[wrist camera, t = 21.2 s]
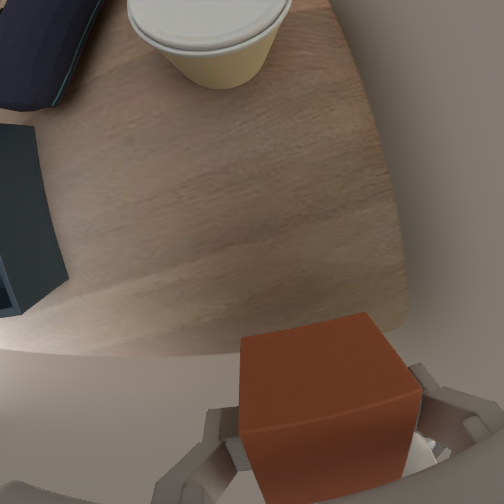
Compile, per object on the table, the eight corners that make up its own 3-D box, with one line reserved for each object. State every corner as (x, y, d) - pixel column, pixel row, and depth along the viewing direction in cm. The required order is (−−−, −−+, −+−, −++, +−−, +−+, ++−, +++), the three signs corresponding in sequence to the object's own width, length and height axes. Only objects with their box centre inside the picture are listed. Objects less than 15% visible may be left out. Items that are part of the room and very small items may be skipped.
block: (366, 400, 12) (401, 479, 7) (262, 422, 12) (268, 510, 7) (365, 310, 11) (424, 388, 6) (240, 336, 11) (237, 433, 6)
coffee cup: (207, -4, 21) (188, -82, 10) (294, 38, 23) (325, -34, 11) (150, 72, 23) (91, 20, 12) (239, 118, 25) (233, 80, 13)
